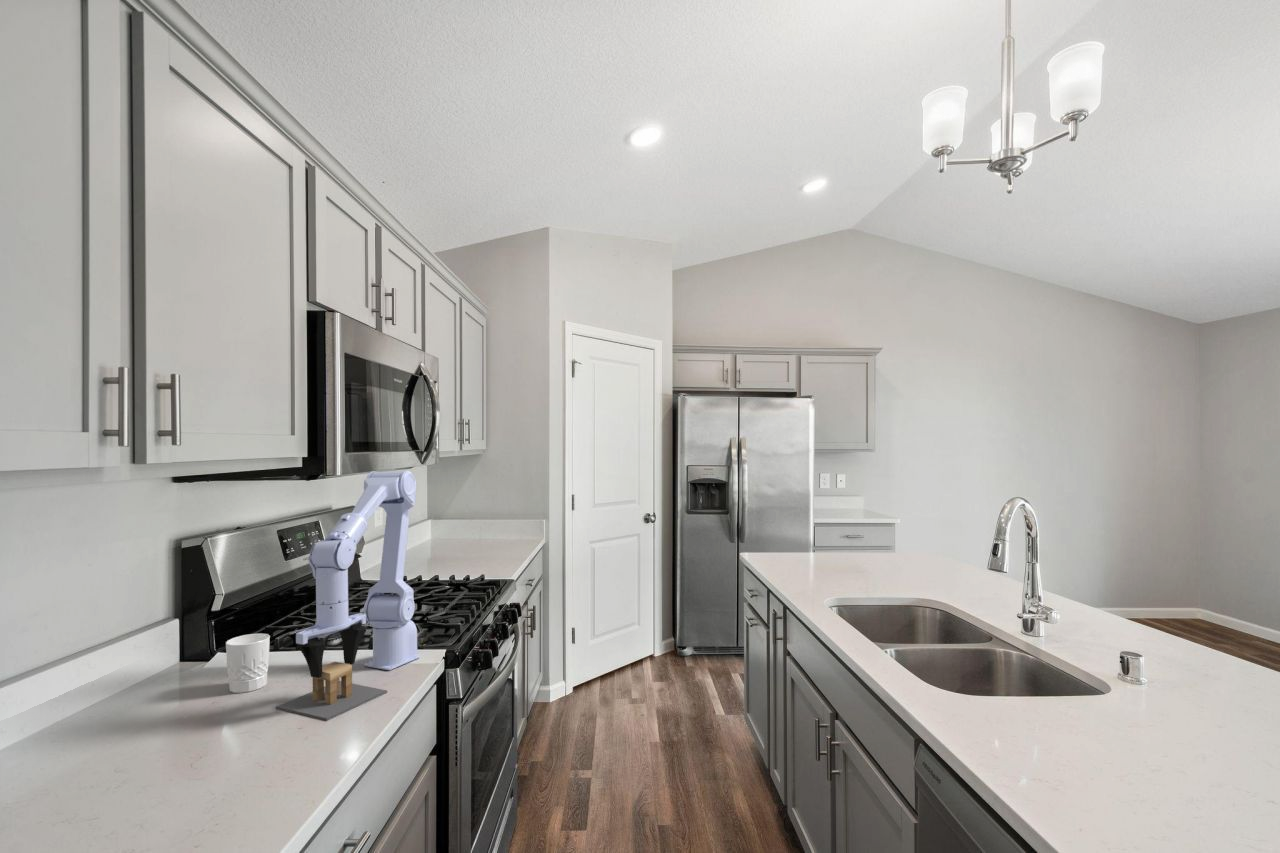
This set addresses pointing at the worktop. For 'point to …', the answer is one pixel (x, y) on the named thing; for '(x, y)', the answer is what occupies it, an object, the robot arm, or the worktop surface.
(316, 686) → the tan notched block
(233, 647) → the white cup
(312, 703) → the mat
